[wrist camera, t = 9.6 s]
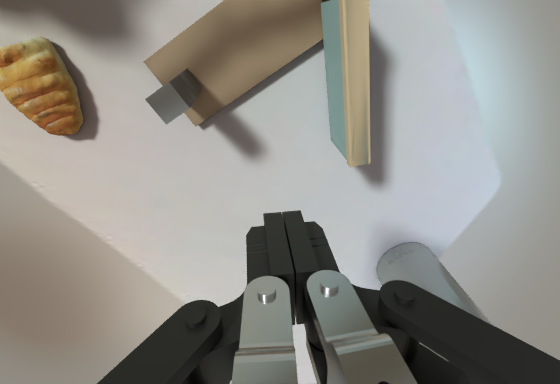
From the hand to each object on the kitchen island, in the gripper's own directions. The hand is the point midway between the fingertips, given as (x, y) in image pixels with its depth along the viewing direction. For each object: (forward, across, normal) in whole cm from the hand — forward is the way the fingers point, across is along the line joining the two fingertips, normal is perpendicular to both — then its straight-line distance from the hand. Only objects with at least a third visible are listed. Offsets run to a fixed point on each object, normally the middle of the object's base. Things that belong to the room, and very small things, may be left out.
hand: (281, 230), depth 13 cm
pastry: (+26, +22, -3) cm, 34 cm away
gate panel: (+24, -8, -2) cm, 25 cm away
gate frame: (+25, 0, -6) cm, 26 cm away
